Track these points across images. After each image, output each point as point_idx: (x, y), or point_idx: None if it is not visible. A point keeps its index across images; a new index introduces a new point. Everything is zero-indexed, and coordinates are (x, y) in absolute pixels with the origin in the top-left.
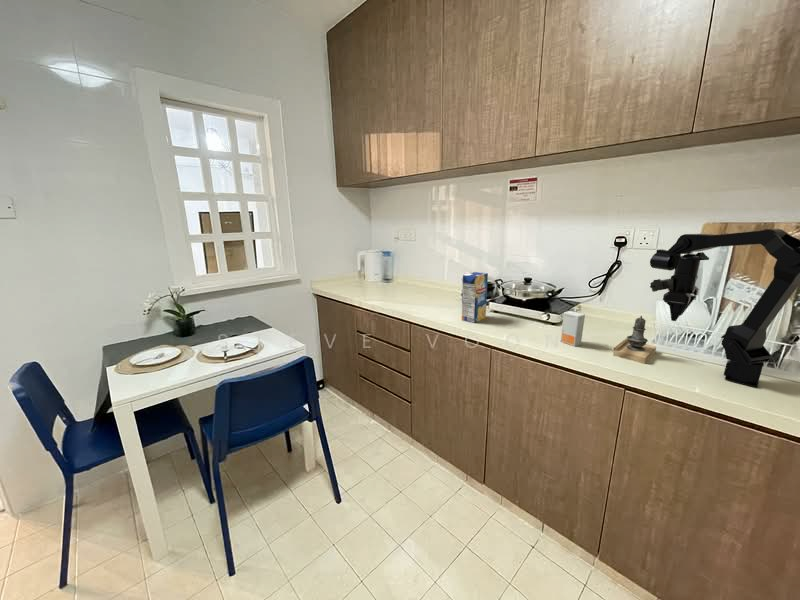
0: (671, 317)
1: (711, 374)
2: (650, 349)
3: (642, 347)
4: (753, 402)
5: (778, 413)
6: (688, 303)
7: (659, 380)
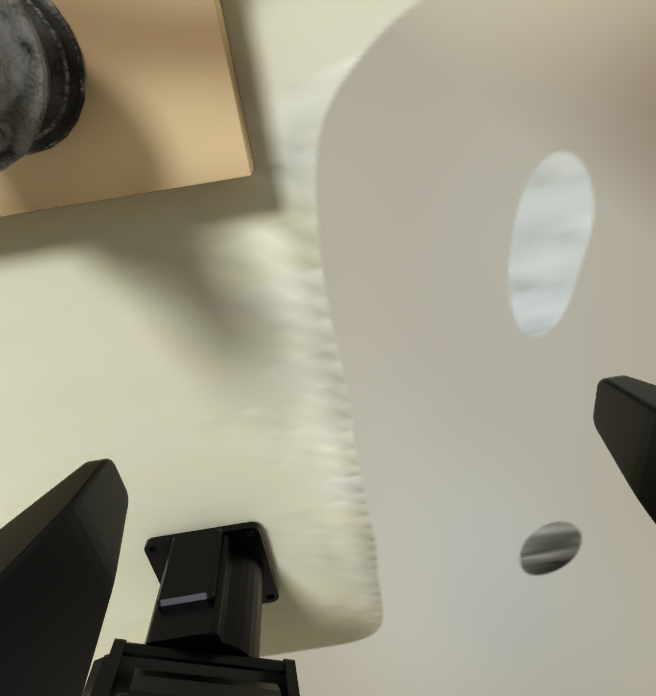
0: (45, 502)
1: (165, 491)
2: (116, 175)
3: (49, 116)
4: None
5: None
6: None
7: None
